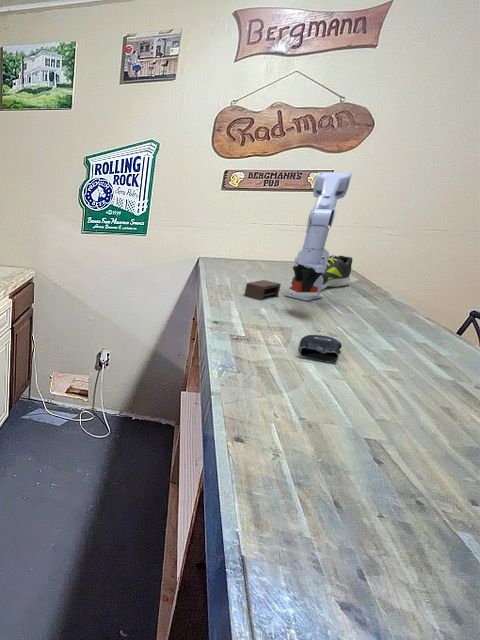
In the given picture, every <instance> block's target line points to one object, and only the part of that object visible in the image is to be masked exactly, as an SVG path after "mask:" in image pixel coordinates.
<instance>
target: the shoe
mask: <svg viewBox="0 0 480 640" xmlns="http://www.w3.org/2000/svg"><path fill="white" fill-rule="evenodd" d="M302 283H303V281H294V282H293V285H291V289H289V294H293V295H307V296H317V295H318V287H316V286H314V285H313V286H312V288H311V290H310V291H309V292H303V291H302Z"/></svg>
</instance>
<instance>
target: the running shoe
mask: <svg viewBox="0 0 480 640" xmlns="http://www.w3.org/2000/svg"><path fill="white" fill-rule="evenodd" d="M324 260H325V259H324ZM352 264H353V258H352V257H351V256H345V255H334V254H333V255H332V254H331V255H329V259H328V263H327V267H326V270H325V273H324V274H322V277H323V284H322V287H321V291H324V290H325V289H326V288H327V287H329V288H338V287H346V286H348V285H349V284H350V281H351V277H350V276H351V272H352ZM294 281H295V275H294V276H293V277H292V280H291V282H290V284H291V286H293V282H294Z"/></svg>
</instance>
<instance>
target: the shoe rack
mask: <svg viewBox="0 0 480 640" xmlns="http://www.w3.org/2000/svg"><path fill="white" fill-rule="evenodd" d="M281 285H282V284H281V283H279V282H275V281H270V280H265V279H262V280H255V281H251V282H247V283H246V285H245V289H244V297H248V298H252V299H255V300H259V301H263V299H264V297H268V296H271V297H275V298H278V297H279V294H280V289H281Z"/></svg>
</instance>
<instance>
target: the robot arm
mask: <svg viewBox="0 0 480 640" xmlns="http://www.w3.org/2000/svg"><path fill="white" fill-rule="evenodd" d="M352 175H353V173H352V172H351V171H338V172H337V171H318V172H317V173H316V177H315V180H314V185H313V192H312V194H313V197H314V198H316V199H315V201H314V205H313V207H312V210H310V211H309V214H308V217H307V218H308V219H307V221H306V222H307V223H306V230H305V231H306V232H305V236H304V241H303V245H302V248H301V249H300V250H299V251H298V252H297V256H296V257H295V258H294V261H293V264H294V266H292V270H293V273H294V276H295V281H303V283H302V291H303V292H309V291H310V290H311V288H312V286H313V285H314V286H316V287H318V295H317V296H307V295H293V294H292V293H288V294H286V295H285V296H286V297H290V298H294V299H296V300H297V299H298V300H302V301H307V302H308V301H312V300H316V299H321V298H322V296H321V295H320V294H321V291H322V290H321V287H322V284H323V277H322V274H324V273H325V270H326V267H327V263H328V259H329V256H330V252H329V251H328V250H327V249H325V247H326V244H327V243H326V242H327V238H328V236H329V231H330V229H331V228H332V226H333V223H334V219H335V216H336V206H337V203H338V200H341V199H343V198H345V196H346V195H347V192H348V191H349V187H350V183H351V180H352ZM324 259H325V260H324Z"/></svg>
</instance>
